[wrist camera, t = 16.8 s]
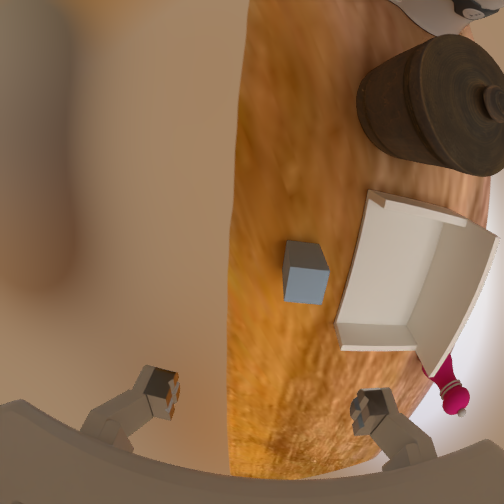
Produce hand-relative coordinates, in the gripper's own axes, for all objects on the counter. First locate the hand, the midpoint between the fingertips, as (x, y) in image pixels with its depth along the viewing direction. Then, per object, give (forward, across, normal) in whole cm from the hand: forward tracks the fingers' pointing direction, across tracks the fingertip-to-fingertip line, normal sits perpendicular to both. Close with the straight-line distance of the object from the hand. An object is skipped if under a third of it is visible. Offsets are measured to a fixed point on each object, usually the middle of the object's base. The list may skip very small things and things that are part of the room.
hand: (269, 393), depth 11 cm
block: (+31, -5, +7) cm, 32 cm away
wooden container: (+31, -17, -18) cm, 40 cm away
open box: (+31, -22, +7) cm, 39 cm away
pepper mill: (+31, -40, +26) cm, 57 cm away
